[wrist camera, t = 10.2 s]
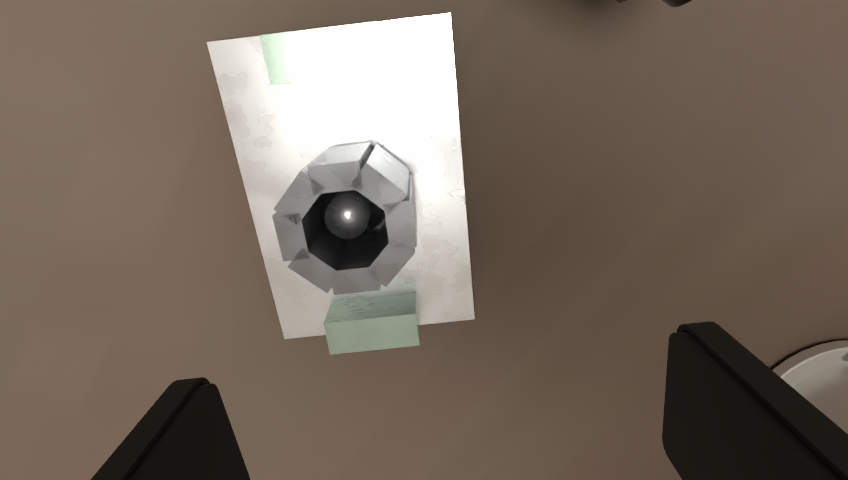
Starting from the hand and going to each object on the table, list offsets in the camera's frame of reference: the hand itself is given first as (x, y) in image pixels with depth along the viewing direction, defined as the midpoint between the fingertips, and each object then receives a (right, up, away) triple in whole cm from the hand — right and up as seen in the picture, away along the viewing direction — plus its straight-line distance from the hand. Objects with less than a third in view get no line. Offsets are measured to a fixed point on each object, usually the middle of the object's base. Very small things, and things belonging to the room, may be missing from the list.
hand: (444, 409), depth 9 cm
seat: (-5, +7, +20) cm, 22 cm away
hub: (-5, +6, +19) cm, 20 cm away
